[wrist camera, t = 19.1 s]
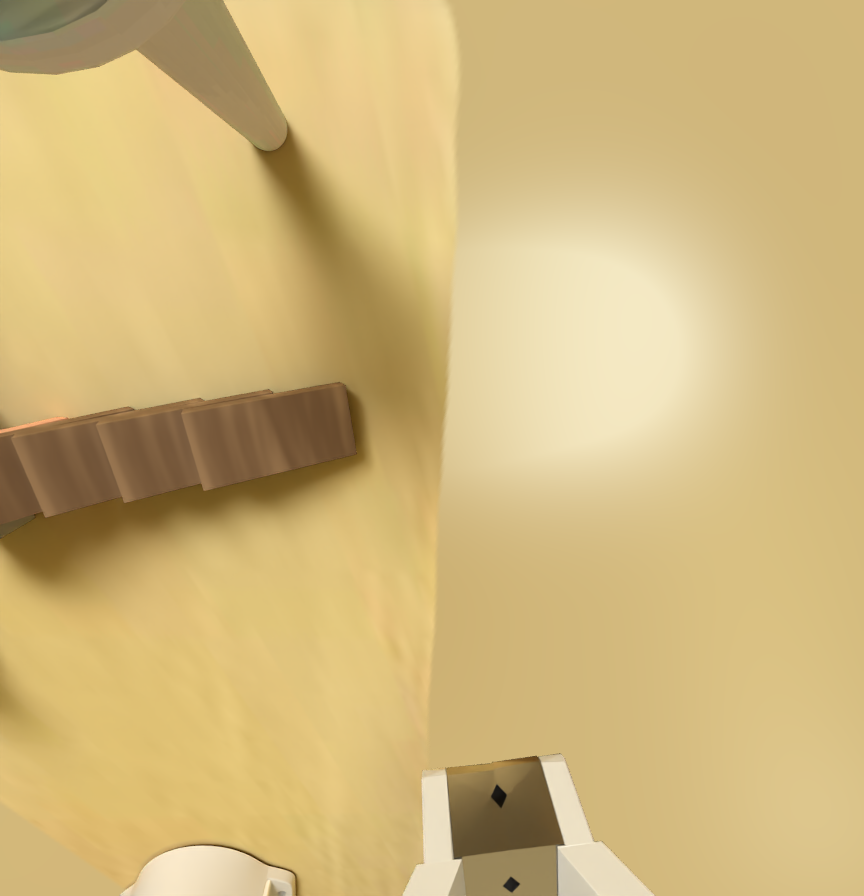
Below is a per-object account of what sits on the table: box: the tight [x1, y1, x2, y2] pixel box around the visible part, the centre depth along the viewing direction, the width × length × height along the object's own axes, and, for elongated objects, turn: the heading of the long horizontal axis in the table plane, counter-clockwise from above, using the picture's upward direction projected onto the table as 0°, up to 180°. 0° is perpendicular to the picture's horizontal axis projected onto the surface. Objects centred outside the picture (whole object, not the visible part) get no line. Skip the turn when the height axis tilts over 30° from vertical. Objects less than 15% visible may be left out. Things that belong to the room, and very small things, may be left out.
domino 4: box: [181, 382, 357, 491], centre depth 29 cm, size 2×5×10 cm
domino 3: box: [96, 389, 273, 503], centre depth 29 cm, size 2×5×10 cm
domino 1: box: [0, 407, 134, 525], centre depth 28 cm, size 2×5×10 cm
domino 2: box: [11, 398, 204, 518], centre depth 29 cm, size 2×5×10 cm
